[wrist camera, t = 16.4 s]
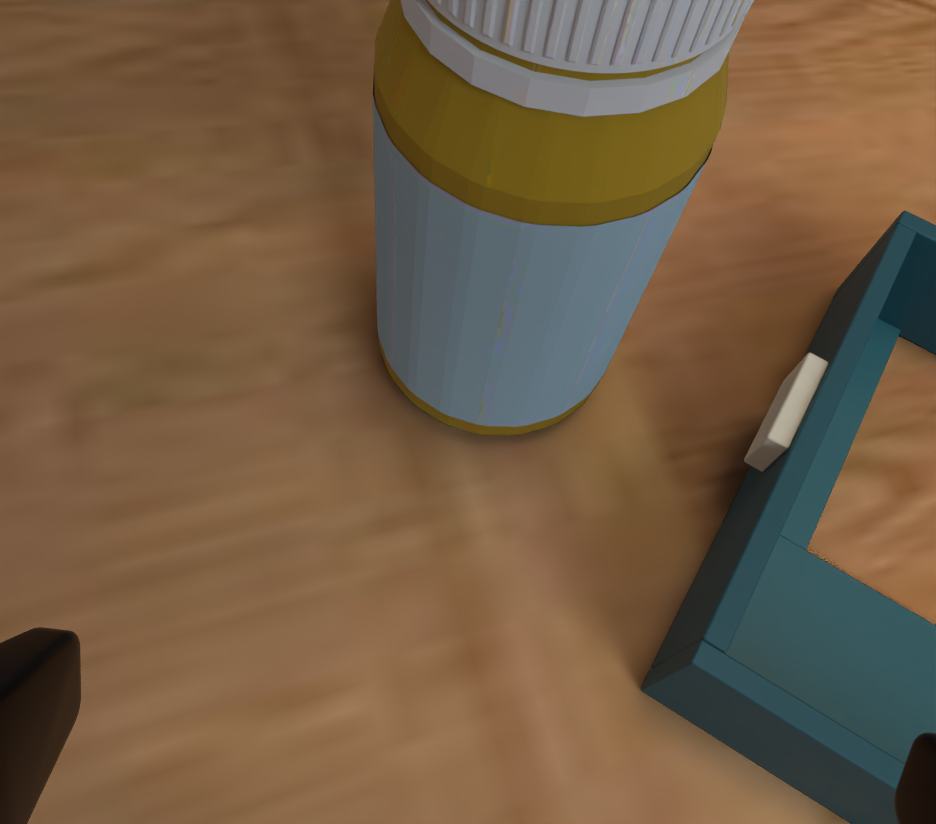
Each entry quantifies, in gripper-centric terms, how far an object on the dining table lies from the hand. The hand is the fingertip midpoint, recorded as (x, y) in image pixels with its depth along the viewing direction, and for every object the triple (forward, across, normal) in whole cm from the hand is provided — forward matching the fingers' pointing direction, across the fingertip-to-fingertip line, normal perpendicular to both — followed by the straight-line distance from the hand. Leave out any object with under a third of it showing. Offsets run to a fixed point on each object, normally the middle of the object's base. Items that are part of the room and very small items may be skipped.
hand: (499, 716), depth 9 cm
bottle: (+18, 0, 0) cm, 18 cm away
